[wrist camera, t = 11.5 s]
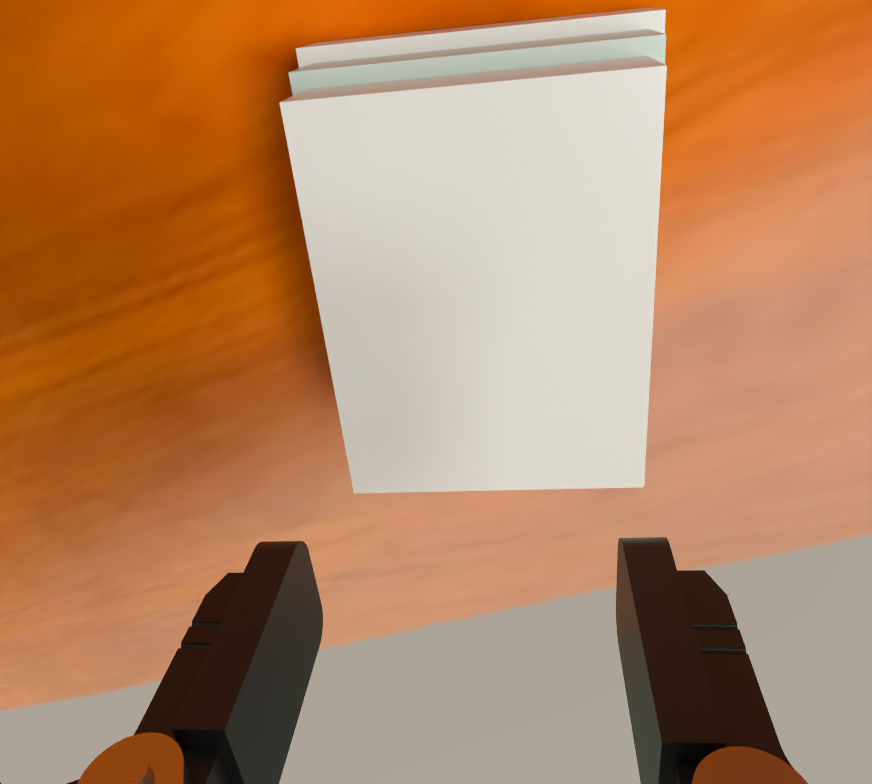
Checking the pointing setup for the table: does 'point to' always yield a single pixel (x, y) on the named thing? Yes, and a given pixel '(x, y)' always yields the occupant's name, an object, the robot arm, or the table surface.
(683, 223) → the table surface
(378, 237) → the white stepped block
